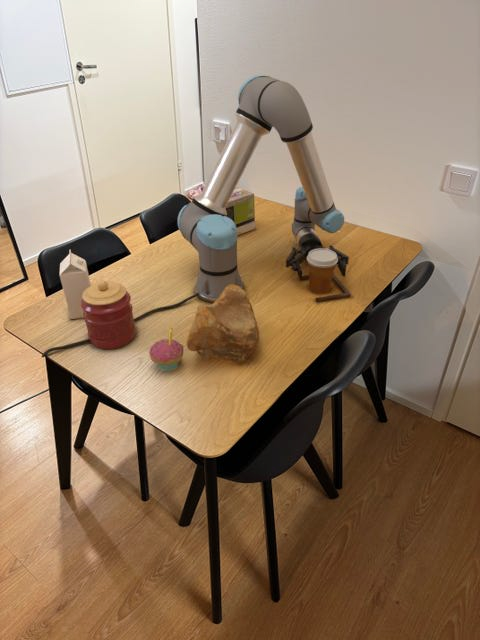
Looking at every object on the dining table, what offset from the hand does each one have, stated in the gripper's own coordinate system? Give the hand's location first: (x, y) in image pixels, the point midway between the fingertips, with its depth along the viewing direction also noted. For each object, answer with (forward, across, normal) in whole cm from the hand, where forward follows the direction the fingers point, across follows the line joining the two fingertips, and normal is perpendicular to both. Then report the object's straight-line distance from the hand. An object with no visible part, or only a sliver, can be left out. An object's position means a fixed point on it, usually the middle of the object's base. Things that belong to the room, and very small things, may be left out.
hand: (322, 273), depth 151 cm
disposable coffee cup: (-2, 0, -7) cm, 7 cm away
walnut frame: (-2, -1, -7) cm, 7 cm away
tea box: (-48, +25, -7) cm, 54 cm away
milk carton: (+4, +73, -7) cm, 73 cm away
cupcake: (+31, +47, -7) cm, 56 cm away
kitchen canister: (+17, +62, -7) cm, 65 cm away
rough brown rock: (+26, +30, -7) cm, 41 cm away
